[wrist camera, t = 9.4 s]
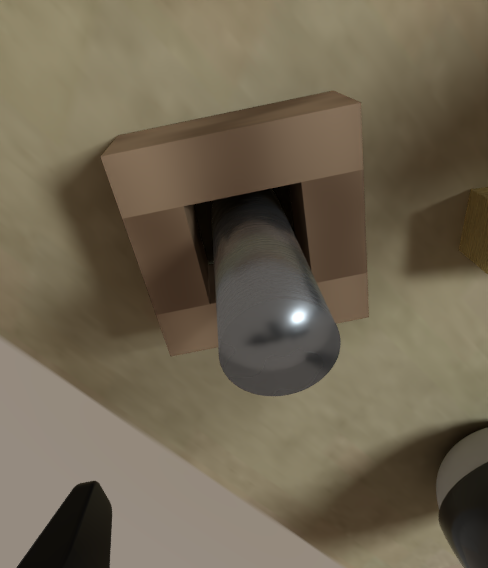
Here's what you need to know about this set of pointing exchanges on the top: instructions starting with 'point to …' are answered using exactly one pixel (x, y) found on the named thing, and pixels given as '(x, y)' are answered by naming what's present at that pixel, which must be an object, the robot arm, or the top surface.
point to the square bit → (476, 229)
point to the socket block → (235, 181)
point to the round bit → (267, 300)
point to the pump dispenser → (465, 499)
